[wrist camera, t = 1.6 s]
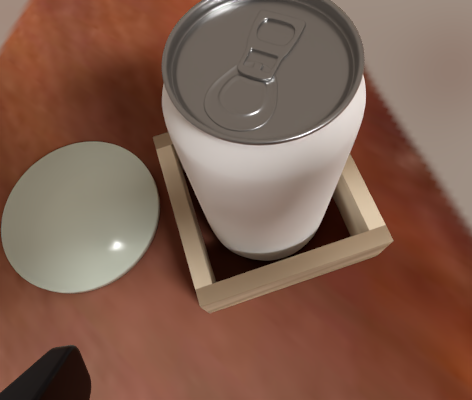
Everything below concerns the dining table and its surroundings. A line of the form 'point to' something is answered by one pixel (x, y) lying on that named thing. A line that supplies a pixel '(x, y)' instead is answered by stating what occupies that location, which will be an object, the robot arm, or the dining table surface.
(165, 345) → the dining table surface
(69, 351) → the robot arm
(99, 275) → the pale green flat disc
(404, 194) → the dining table surface
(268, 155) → the can
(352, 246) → the holder
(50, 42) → the dining table surface
